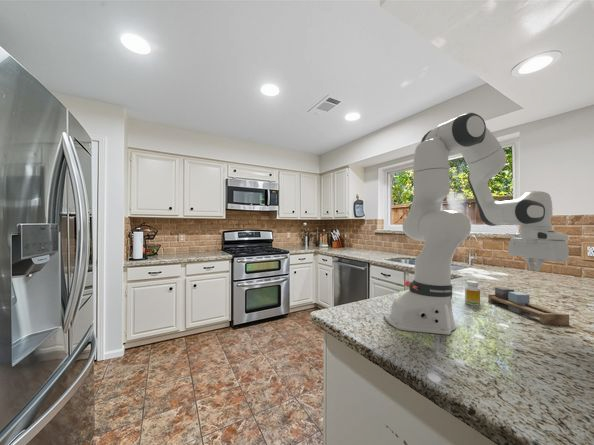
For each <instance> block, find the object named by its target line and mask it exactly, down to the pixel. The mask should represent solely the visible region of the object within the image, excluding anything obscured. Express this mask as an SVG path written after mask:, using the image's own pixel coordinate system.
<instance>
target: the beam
mask: <svg viewBox="0 0 594 445" xmlns="http://www.w3.org/2000/svg"><path fill="white" fill-rule="evenodd" d="M508 292H515V289H513V288H510V287H505V286H503V287H502V286H496V287H494V293H492V294H491V293H489V294H488V299H487V300H488V303H490V304H494V303H495V304H504V305H506V306H507V307H508V308H507V310H509V311H511V312H514V313H517V314H519V315H532V316H533V315H534V316H536V317H539V323H540V324H542V325H561V326H562V325H564V326H565V325H569V326H570V314H569V313H562V312H558V311H555V310H552V309H549V308H546V307H544V306H541V305H537V304H535V303H533V302H530V304H525V306H523V305H521V304H518V303H515V302H512V301H509V300H508Z"/></svg>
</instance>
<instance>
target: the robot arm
mask: <svg viewBox="0 0 594 445" xmlns="http://www.w3.org/2000/svg"><path fill="white" fill-rule="evenodd" d="M457 152H460V153H461V155H462V157H463V160H464V161H465V163H466V165H467V166H468V171H469V172H468V174H467V182H468V185H469V188H470V191H471V192H472V195H473V197H474V198H473V199H474V200H475V203H476V205H477V208H478V213H479V214H478V215H479V218H480V219H481V221H482V223H484V224H485V225H486V226H490V227H493V226H495V227H496V226H519V233H513V234H512V235H511V236H510V239H509V241H508V242H509V243H508V249H507V253H508V255H509V256H514V257H522V258H525V262H526V263H527V265H528V270H530V271H535V272H540V271H541V269H542V268H541V267H542V266H543V264H544V263H545V261H551V262H558V263H559V262H560V263H562V262H563V263H564V262H565V263H566V262H567V261H568V260H569V254H570V253H569V252H570V251H569V250H570V248H569V243H568V242H567V241H568V239H569V238H568V237H569V236H568V234H566V233H563V232H560V231H557V230H554V229H553V225H552V218H553V200H552V198H551V195H550V194H549V193H548V192H545V191H537V190H533V191H527V192H524V193H523V194H522V196H520V197H519V198H518V197H517V198H516V199H510V200H509V199H508V200H497V199H495V198H494V196H493V194H492V191H491V188H490V186H489V180H490V179H492V178H494V177H495V176H496V175H497V174H499V173H500V172H501V171H502V170H503V169H504V167H505V166H506V163H507V161H508V157H507V153H506V152H505V150H504V148H503V146H502V145H501V143H500V142H499V140H498V138H497V137H496V136H495V135H494V133H492V131H491V130H490V129H488V128H487V126H486V122H485V120H484V118H483V117H482V116H481V115H479V114H478V113H475V112H467V113H463V114H461V115H458V116H457V117H455V118H452V119H449V120H448V121H445V122H443V123H441V124H439V125H437V126H435V128H433V129H431V130H429V131H427V133H426V134H424V135H423V137H422V138H421V141H420V143H418V145H417V146H416V148H415V150H414V156H413V165H412V166H413V167H412V168H413V169H412V170H413V171H412V172H413V173H412V174H413V196H412V202H411V206H410V209H409V211H408V214H407V215H406V217H405V218H404V220H403V222H402V231H403V233H404V234H405V236H406V237H408V238H411V239H412V240H415V241H418V242H423V243H424V244H423V247H422V249H421V252H420V253H419V254H418V255H417V256H416V257H415V258H414V259H415V260H414V279H413V280H412V281H411V280H410V281H409V280H407V279H406V280H404V281H403V283H404V286H406V287H408V288H409V289H408V290H407V291H406V292H404V293H403V294H402V295H400V296H398V297H396V299H395V298H394V300H393V302H392V304H391V308H390V309H391V310H390V311H386V312H385V313H384V319H385V321H386V322H387V323H389V324H390V326H392V327H394V328H396V329H397V330H400V331H407V332H408V331H409V332H416V333H417V332H419V333H427V334H429V333H430V334H440V335H451V334H452V331H454V330H456V328H457V326H456V325H457V324H456V322H455V319H454V315H453V314H454V313H453V306H452V298H453V284H452V280H451V279H452V277H451V276H452V265H453V264H452V263H453V258H454V254H455V253H456V251H457V248H458V247H459V246H460V244H461V243H463V242H464V241H466V240H467V238H468V237H469V236H470V233H471V230H472V226H471V225H472V224H471V221H470V219H469V218H468V216H467V215H466V214H465V213H462V212H460V211H454V210H449V209H448V210H447V209H445V210H441V206H442V203H443V201H444V200H445V199H446V198H447V197H448V196H449V194H450V191H451V184H450V183H451V181H450V180H451V178H450V162H449V155H450V154H452V153H453V154H454V153H457ZM534 262H535V263H534Z"/></svg>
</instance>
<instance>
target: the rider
mask: <svg viewBox="0 0 594 445" xmlns="http://www.w3.org/2000/svg"><path fill="white" fill-rule="evenodd" d="M530 298H531V296H530V294H528V293H525V292H521V291H514V292H508V300H509V301H512V302H515V303H518V304H521V305H523V306H525V304H530V303H531V302H530Z"/></svg>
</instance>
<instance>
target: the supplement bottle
mask: <svg viewBox="0 0 594 445" xmlns="http://www.w3.org/2000/svg"><path fill="white" fill-rule="evenodd" d="M466 284H467V285H465V286H464V303H465V304H467V305H469V306H474V307H475V306H477V307H478V306H480V305H481V288H480V287H479V282H478V281H475V280H467V281H466Z"/></svg>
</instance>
